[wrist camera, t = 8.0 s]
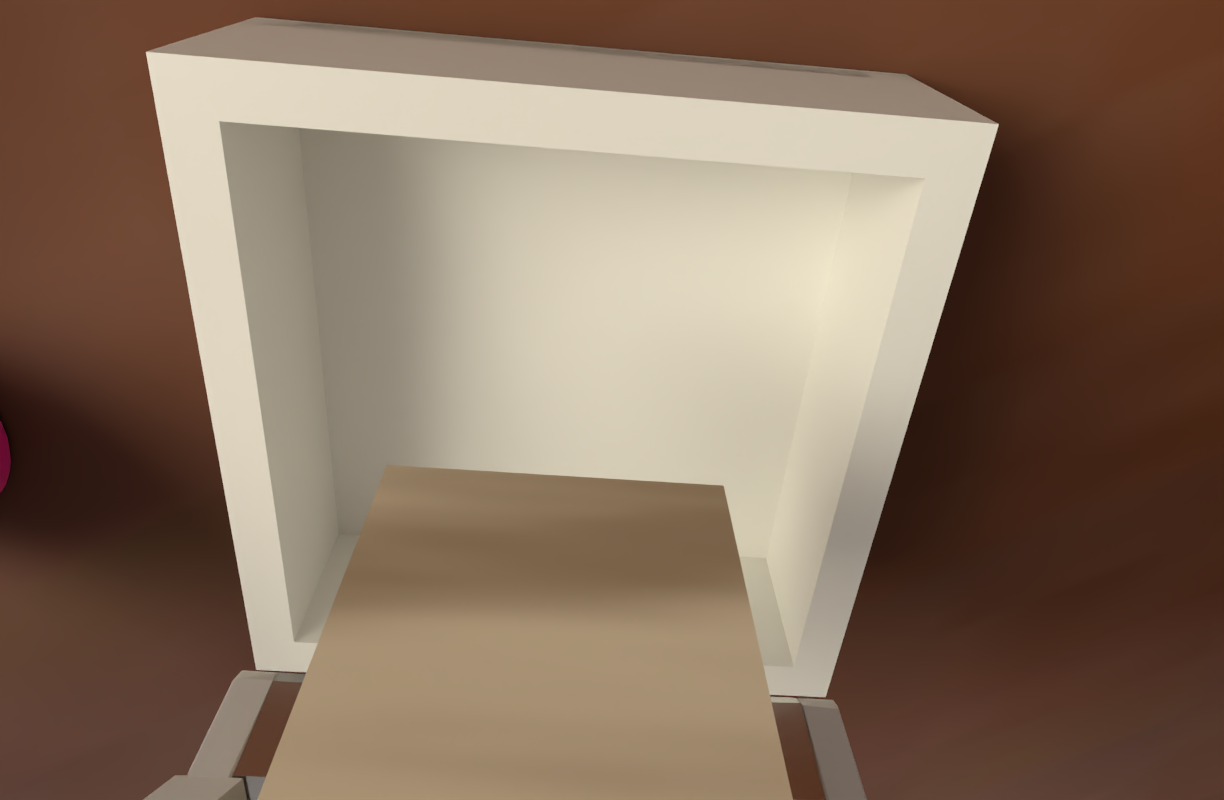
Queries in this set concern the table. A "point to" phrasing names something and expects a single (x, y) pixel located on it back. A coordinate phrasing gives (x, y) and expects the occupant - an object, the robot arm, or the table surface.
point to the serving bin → (559, 290)
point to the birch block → (536, 649)
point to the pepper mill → (4, 458)
